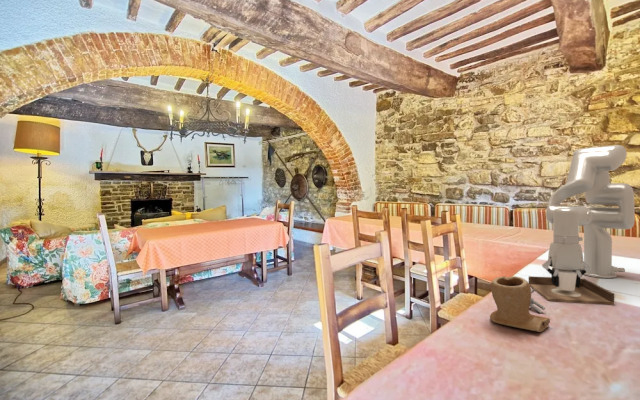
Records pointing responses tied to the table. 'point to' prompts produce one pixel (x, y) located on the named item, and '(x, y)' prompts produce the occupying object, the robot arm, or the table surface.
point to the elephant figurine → (536, 304)
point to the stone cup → (515, 304)
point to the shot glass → (567, 280)
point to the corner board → (572, 292)
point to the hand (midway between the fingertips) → (565, 285)
